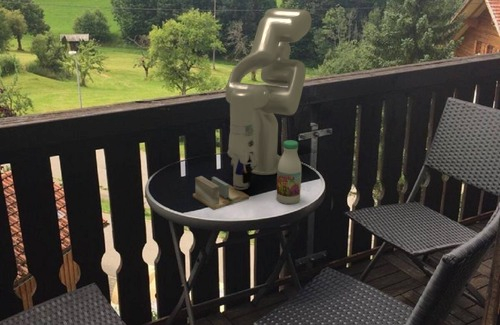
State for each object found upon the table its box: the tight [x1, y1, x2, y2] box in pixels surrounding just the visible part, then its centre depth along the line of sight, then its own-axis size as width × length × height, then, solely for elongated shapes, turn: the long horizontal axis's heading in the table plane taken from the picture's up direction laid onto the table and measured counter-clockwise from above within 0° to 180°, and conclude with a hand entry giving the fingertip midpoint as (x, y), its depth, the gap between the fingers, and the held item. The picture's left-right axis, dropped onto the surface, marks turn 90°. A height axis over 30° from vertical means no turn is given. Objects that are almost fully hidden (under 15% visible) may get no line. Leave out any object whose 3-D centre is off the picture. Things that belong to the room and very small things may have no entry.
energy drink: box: [232, 154, 250, 191], centre depth 182 cm, size 5×5×12 cm
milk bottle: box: [275, 139, 302, 204], centre depth 175 cm, size 8×8×20 cm
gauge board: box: [192, 175, 250, 211], centre depth 178 cm, size 14×12×7 cm
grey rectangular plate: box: [211, 176, 232, 201], centre depth 177 cm, size 1×10×5 cm, turn 38°
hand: (241, 178), depth 183 cm, fingers closed on energy drink, 5 cm apart
